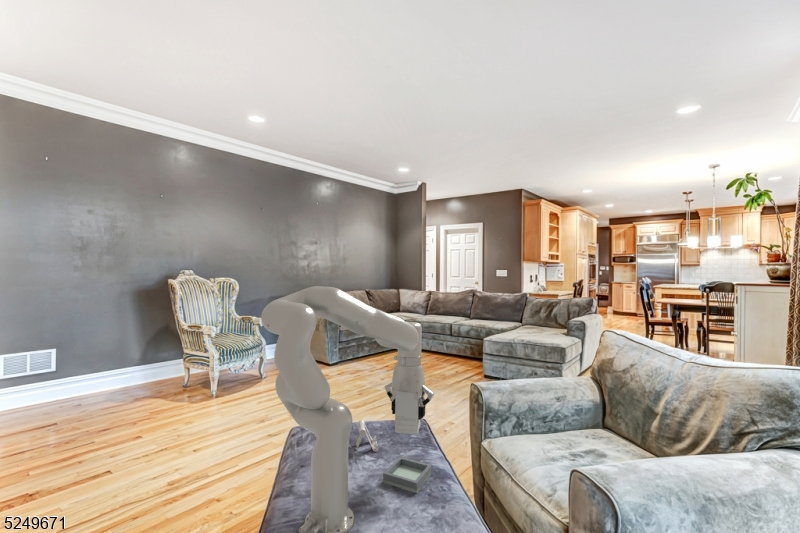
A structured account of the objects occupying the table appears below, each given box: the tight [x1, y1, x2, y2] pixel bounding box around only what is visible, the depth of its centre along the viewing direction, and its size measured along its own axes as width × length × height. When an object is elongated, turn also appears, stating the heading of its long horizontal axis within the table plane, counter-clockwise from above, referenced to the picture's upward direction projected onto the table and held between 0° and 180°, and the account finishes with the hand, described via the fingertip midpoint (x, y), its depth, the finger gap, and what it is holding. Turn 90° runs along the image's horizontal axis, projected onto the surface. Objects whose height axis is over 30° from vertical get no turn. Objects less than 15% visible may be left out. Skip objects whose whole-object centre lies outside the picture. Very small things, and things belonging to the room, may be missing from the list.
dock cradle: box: [382, 456, 433, 494], centre depth 119 cm, size 12×12×3 cm
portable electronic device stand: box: [355, 419, 379, 452], centre depth 140 cm, size 9×8×8 cm
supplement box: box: [394, 391, 421, 435], centre depth 120 cm, size 7×7×13 cm
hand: (407, 415), depth 120 cm, fingers closed on supplement box, 8 cm apart
